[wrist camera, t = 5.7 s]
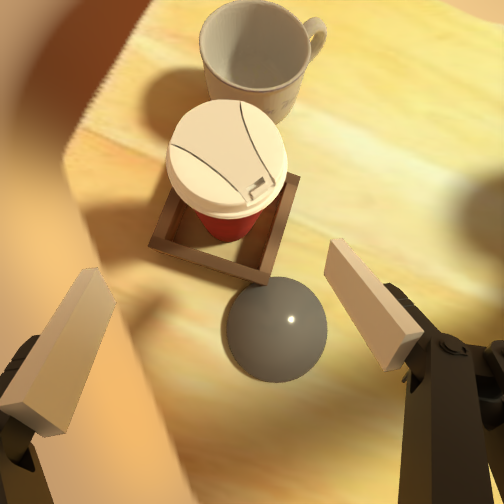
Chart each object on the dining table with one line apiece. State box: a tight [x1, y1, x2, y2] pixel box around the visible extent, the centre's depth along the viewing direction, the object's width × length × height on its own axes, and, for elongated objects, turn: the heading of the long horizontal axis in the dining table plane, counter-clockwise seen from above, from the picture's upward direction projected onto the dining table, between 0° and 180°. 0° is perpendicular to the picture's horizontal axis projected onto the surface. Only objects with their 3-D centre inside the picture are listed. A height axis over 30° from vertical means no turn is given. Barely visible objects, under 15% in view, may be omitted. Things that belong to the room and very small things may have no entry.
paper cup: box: [166, 100, 287, 242], centre depth 21 cm, size 8×8×14 cm
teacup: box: [199, 0, 327, 125], centre depth 27 cm, size 14×11×8 cm
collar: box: [148, 172, 300, 286], centre depth 26 cm, size 12×12×3 cm
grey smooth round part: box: [227, 277, 327, 383], centre depth 26 cm, size 11×11×1 cm
